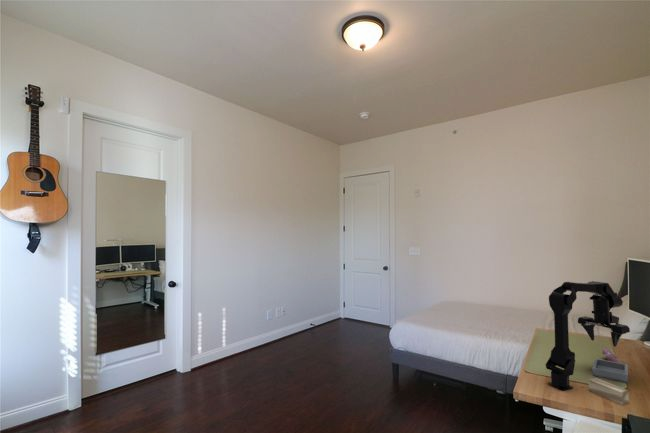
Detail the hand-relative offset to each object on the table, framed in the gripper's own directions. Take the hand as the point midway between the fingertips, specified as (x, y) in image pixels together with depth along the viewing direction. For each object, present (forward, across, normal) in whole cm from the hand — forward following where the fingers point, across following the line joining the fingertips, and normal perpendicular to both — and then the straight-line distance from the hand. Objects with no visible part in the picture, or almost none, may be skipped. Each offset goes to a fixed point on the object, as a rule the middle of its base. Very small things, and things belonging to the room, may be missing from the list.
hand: (603, 343), depth 154 cm
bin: (+15, 0, -4) cm, 15 cm away
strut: (+15, -13, +19) cm, 28 cm away
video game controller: (+15, +10, -20) cm, 27 cm away
